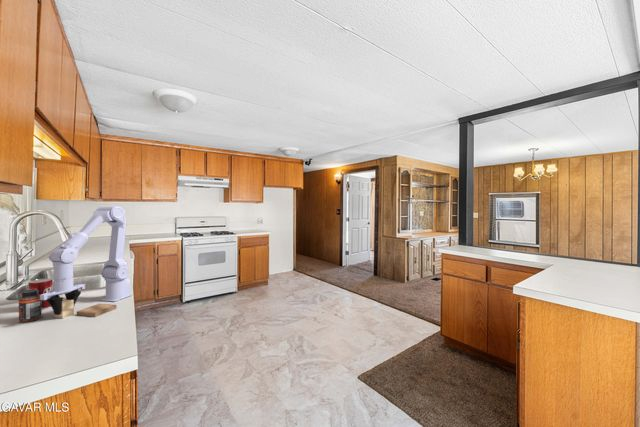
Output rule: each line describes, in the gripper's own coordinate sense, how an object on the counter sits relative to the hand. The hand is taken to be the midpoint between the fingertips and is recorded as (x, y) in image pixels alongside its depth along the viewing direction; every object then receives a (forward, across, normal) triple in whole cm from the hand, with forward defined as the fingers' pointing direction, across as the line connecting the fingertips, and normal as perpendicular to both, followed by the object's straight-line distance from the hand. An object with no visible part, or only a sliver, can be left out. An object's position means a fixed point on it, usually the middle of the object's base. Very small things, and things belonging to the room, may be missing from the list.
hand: (64, 312), depth 106 cm
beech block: (+2, 0, 0) cm, 2 cm away
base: (+2, -6, +8) cm, 11 cm away
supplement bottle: (+2, +5, -9) cm, 10 cm away
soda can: (+2, -5, -19) cm, 20 cm away
